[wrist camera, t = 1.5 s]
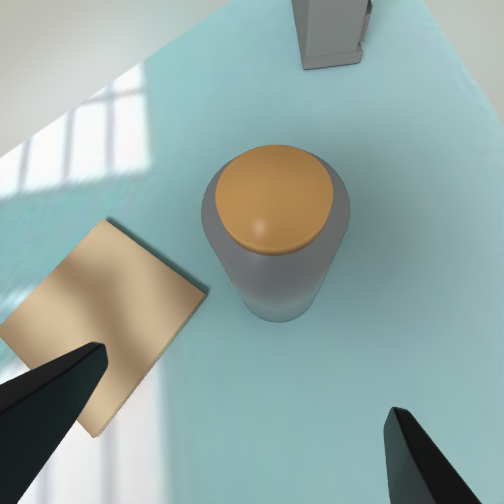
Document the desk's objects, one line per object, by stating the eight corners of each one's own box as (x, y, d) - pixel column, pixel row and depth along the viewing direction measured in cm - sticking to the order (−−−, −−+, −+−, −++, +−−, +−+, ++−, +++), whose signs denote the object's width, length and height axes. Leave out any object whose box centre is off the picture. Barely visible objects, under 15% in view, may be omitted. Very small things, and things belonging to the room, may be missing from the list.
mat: (98, 436, 20) (93, 438, 20) (1, 331, 24) (-6, 331, 23) (207, 295, 23) (205, 294, 23) (106, 221, 27) (103, 218, 26)
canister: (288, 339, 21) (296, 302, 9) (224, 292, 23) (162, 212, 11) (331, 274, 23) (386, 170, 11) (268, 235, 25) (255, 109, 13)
